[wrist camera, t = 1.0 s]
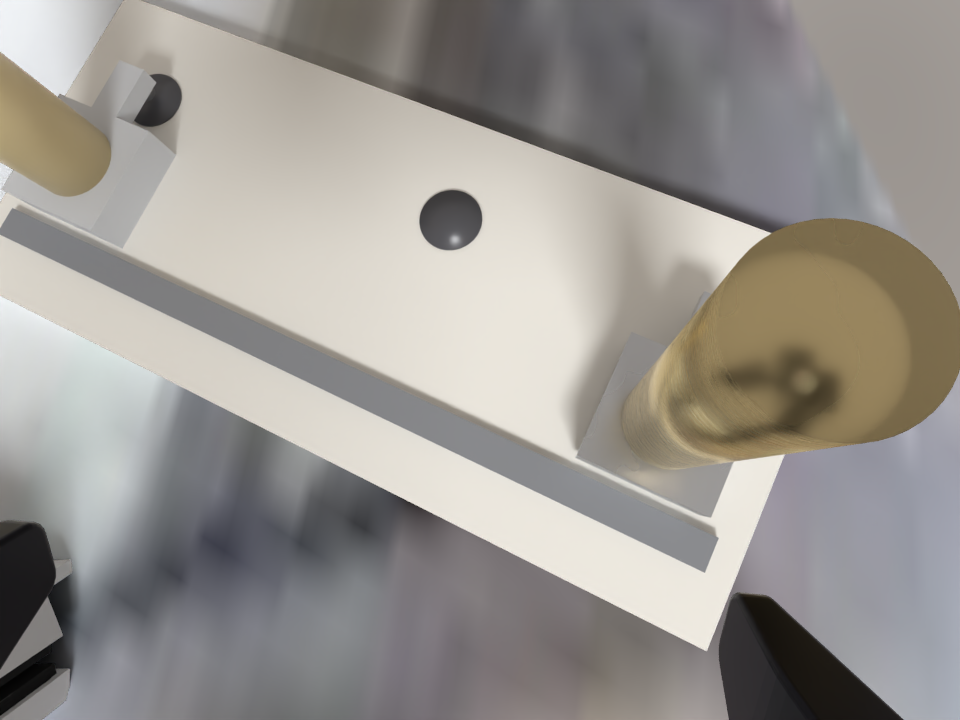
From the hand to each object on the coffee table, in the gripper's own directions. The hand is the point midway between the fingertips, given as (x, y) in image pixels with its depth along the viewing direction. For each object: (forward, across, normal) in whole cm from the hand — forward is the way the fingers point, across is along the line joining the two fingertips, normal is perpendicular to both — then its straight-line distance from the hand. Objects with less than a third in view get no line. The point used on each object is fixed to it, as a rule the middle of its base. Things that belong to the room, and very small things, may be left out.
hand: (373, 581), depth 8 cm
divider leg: (+14, -7, +3) cm, 16 cm away
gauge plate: (+17, +5, +2) cm, 18 cm away
